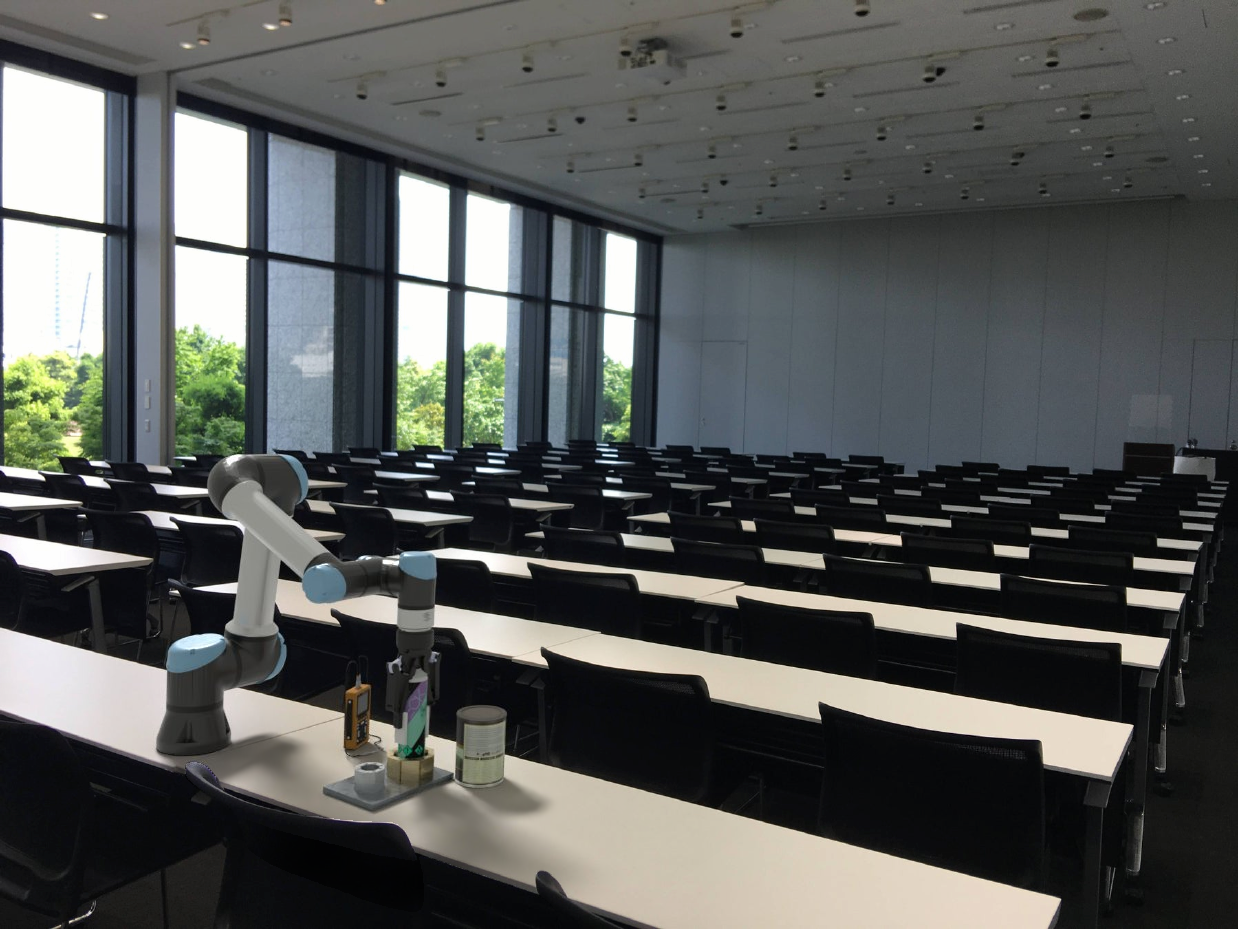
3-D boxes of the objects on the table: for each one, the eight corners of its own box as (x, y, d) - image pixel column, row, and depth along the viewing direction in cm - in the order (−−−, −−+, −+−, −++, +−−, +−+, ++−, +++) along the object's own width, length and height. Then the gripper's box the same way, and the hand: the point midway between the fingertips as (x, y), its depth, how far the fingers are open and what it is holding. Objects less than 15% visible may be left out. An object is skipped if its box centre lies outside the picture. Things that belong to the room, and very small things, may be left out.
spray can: (395, 754, 201) (398, 659, 200) (421, 752, 203) (425, 657, 202) (400, 763, 196) (403, 665, 195) (427, 761, 198) (430, 664, 197)
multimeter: (377, 760, 209) (380, 669, 208) (334, 755, 211) (337, 664, 210) (405, 739, 223) (408, 653, 223) (365, 735, 225) (368, 649, 225)
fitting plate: (323, 792, 190) (323, 766, 190) (405, 763, 208) (406, 739, 208) (372, 811, 182) (373, 784, 182) (453, 778, 201) (454, 753, 200)
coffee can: (443, 780, 200) (446, 712, 199) (478, 766, 208) (480, 702, 207) (480, 792, 194) (482, 723, 193) (514, 778, 202) (517, 712, 202)
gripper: (394, 638, 189) (390, 755, 190) (460, 624, 204) (456, 732, 205) (368, 632, 193) (364, 747, 194) (434, 618, 208) (430, 725, 209)
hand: (411, 739), depth 200 cm, fingers closed on spray can, 5 cm apart
